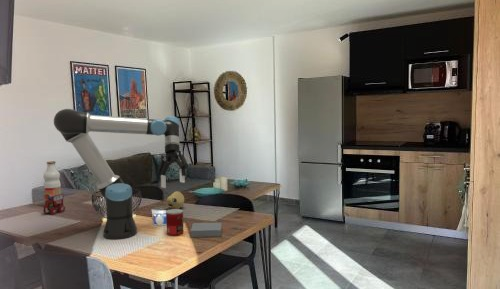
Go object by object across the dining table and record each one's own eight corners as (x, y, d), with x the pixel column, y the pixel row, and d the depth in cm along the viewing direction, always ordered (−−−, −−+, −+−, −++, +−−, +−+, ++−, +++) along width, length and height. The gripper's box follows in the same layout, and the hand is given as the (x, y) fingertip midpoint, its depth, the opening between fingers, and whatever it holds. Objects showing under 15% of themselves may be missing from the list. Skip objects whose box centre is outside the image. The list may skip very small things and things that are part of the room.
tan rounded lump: (162, 210, 216) (161, 193, 216) (174, 206, 227) (173, 189, 227) (176, 212, 213) (175, 194, 212) (187, 207, 224) (187, 190, 223)
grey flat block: (190, 237, 169) (190, 230, 169) (193, 229, 181) (193, 223, 181) (220, 236, 170) (220, 230, 169) (221, 228, 182) (221, 222, 181)
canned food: (179, 236, 170) (179, 213, 169) (163, 235, 172) (163, 212, 171) (186, 231, 178) (185, 209, 177) (170, 230, 179) (170, 208, 178)
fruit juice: (63, 205, 231) (60, 161, 229) (46, 208, 225) (43, 163, 223) (60, 203, 239) (58, 160, 236) (43, 205, 233) (41, 161, 231)
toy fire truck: (40, 214, 210) (39, 197, 209) (59, 209, 222) (58, 192, 221) (48, 216, 207) (47, 198, 207) (67, 210, 219) (66, 193, 218)
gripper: (194, 140, 187) (196, 181, 180) (161, 152, 200) (161, 190, 193) (184, 137, 182) (185, 178, 174) (150, 149, 195) (150, 188, 187)
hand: (172, 185), depth 184 cm, fingers open, 13 cm apart
